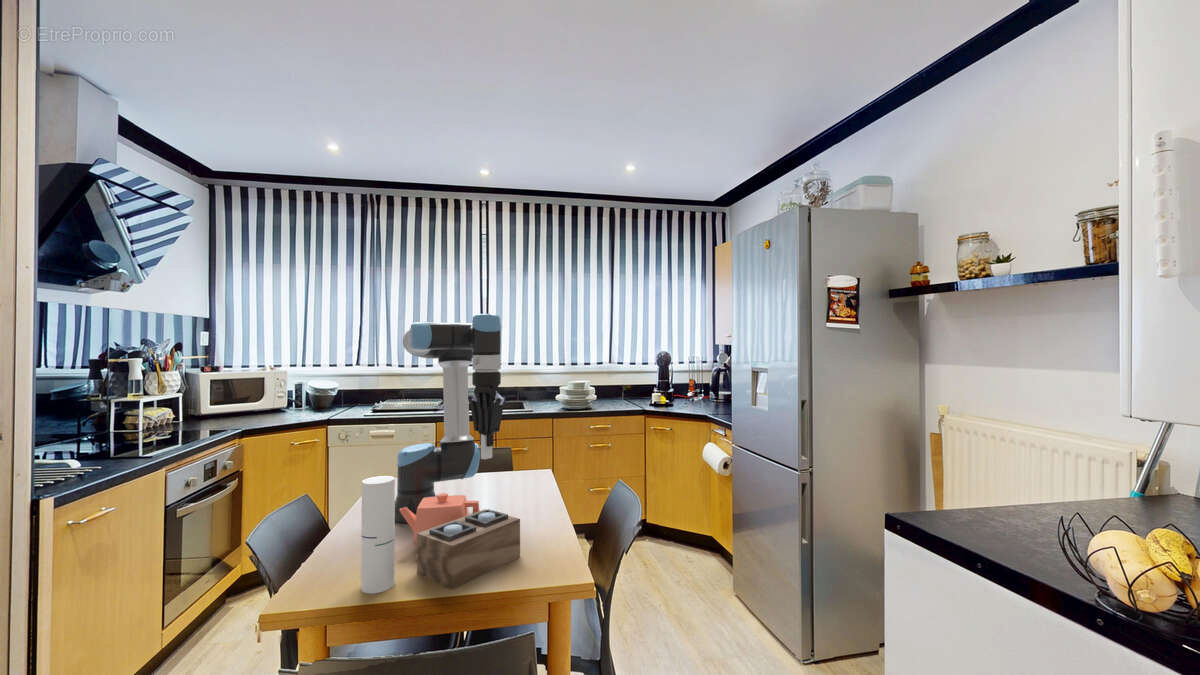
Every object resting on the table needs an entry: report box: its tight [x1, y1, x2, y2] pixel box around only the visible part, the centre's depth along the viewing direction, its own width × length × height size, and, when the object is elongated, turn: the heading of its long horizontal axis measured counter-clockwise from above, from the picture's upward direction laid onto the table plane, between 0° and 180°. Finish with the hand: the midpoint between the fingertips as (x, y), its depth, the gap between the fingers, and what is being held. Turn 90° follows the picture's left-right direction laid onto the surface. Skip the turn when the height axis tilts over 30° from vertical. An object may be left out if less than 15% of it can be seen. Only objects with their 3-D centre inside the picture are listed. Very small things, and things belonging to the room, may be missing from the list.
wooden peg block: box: [416, 508, 521, 590], centre depth 126 cm, size 14×22×11 cm, turn 144°
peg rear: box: [478, 512, 495, 521], centre depth 131 cm, size 4×4×9 cm
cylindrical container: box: [360, 475, 396, 595], centre depth 115 cm, size 7×7×25 cm
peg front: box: [444, 524, 462, 535], centre depth 122 cm, size 4×4×9 cm
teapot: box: [400, 492, 480, 548], centre depth 140 cm, size 22×13×14 cm, turn 101°
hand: (486, 458), depth 131 cm, fingers closed
